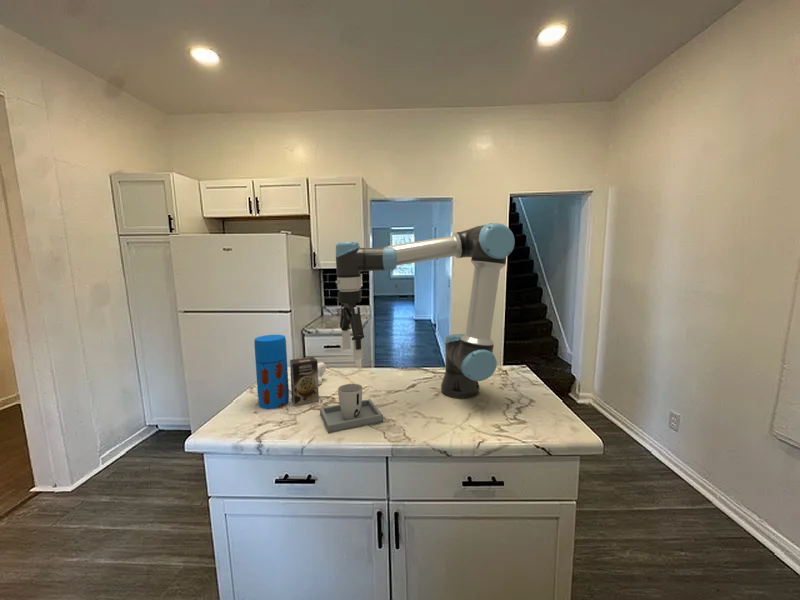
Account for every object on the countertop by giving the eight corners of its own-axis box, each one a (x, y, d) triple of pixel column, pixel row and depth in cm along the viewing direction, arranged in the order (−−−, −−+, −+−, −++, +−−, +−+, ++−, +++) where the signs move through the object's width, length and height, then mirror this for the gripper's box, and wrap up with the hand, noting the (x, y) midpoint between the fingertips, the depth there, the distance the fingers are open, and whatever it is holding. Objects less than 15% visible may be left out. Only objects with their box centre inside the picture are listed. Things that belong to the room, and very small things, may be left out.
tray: (370, 405, 129) (369, 399, 128) (383, 422, 116) (383, 414, 116) (320, 414, 122) (319, 408, 122) (328, 433, 109) (328, 425, 109)
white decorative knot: (291, 387, 148) (290, 366, 147) (305, 377, 160) (304, 358, 159) (316, 389, 146) (316, 368, 145) (328, 379, 157) (328, 359, 156)
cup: (358, 423, 114) (357, 393, 113) (335, 421, 116) (334, 391, 114) (366, 412, 122) (365, 384, 121) (344, 410, 124) (343, 383, 122)
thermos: (294, 402, 132) (291, 337, 129) (267, 412, 124) (262, 342, 121) (280, 395, 140) (276, 333, 136) (253, 403, 132) (248, 338, 129)
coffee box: (294, 407, 129) (292, 364, 126) (291, 400, 134) (289, 359, 132) (319, 401, 133) (317, 360, 131) (315, 395, 138) (313, 355, 136)
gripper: (329, 287, 124) (332, 346, 127) (348, 294, 102) (351, 366, 104) (350, 286, 127) (352, 344, 130) (372, 292, 105) (375, 362, 107)
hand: (352, 353), depth 117 cm, fingers open, 13 cm apart
